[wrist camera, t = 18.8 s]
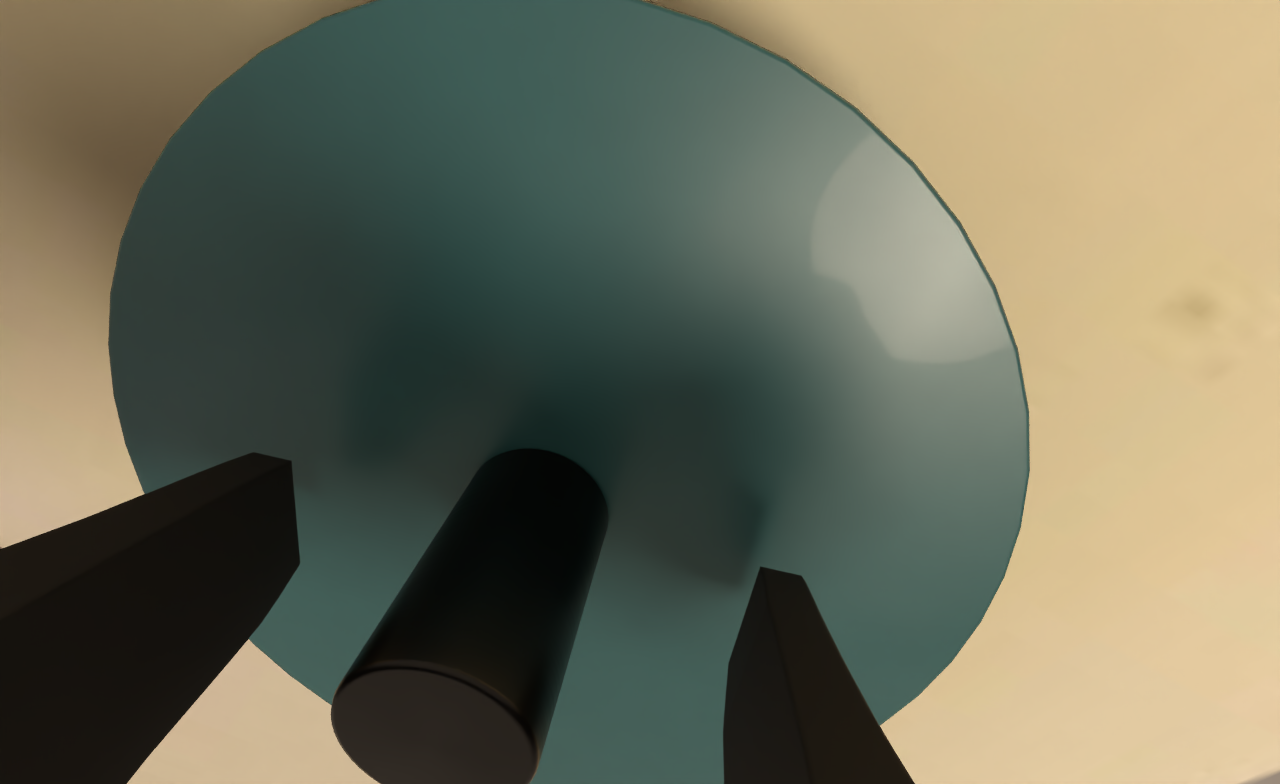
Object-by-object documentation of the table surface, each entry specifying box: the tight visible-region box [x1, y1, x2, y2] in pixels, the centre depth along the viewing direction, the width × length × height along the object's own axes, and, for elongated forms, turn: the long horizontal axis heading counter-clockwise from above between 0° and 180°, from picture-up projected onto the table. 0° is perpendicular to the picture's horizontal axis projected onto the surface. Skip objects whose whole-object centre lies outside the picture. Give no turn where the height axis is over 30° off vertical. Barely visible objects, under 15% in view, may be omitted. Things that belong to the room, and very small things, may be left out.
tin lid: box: [108, 0, 1030, 784], centre depth 10 cm, size 15×15×6 cm
